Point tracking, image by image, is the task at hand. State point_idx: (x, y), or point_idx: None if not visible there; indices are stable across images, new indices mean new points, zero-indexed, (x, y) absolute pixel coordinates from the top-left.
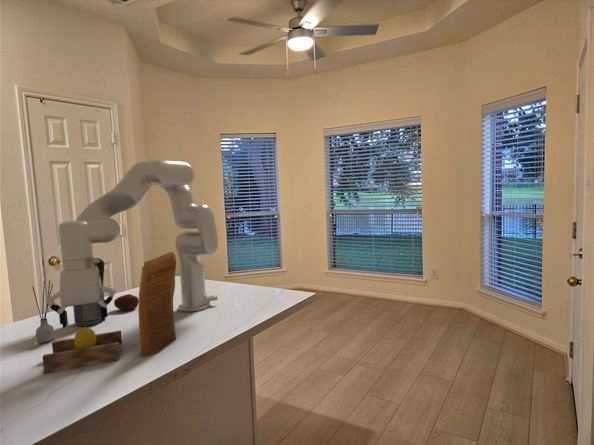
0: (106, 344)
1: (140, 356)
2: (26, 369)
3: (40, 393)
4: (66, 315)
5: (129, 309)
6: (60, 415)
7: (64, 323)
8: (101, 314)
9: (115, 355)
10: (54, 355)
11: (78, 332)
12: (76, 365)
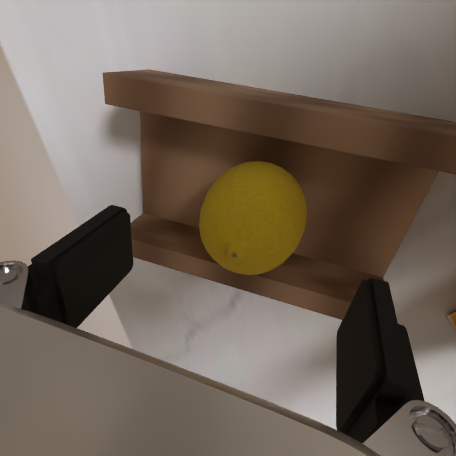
0: (336, 302)
1: (447, 317)
2: (88, 141)
3: (168, 318)
4: (84, 265)
5: None
6: None
7: (113, 286)
8: (340, 380)
9: None
10: (153, 261)
11: (210, 253)
12: None
